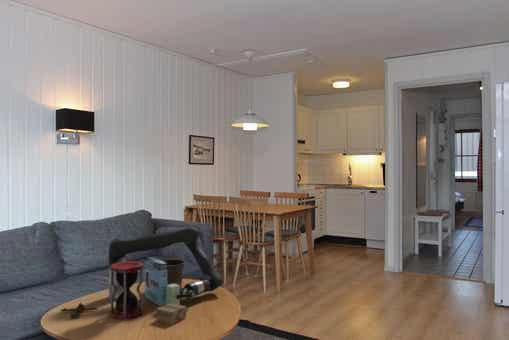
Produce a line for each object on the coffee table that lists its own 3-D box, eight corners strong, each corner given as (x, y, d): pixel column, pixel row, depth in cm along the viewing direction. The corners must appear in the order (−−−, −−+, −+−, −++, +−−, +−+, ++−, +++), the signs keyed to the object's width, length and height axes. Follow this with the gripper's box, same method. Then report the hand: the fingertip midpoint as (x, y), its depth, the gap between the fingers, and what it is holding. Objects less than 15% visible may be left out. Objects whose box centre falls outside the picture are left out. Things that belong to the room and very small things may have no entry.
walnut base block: (172, 325, 196) (172, 312, 196) (156, 320, 202) (156, 308, 201) (185, 318, 205) (186, 306, 205) (170, 314, 210) (170, 302, 210)
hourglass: (107, 320, 201) (107, 269, 201) (113, 309, 217) (113, 261, 216) (141, 318, 203) (141, 268, 203) (144, 307, 219) (145, 260, 219)
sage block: (172, 310, 216) (172, 287, 216) (166, 308, 219) (166, 285, 219) (179, 307, 220) (179, 285, 220) (173, 305, 223) (173, 283, 223)
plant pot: (171, 293, 244) (171, 266, 244) (152, 289, 253) (152, 262, 252) (190, 287, 257) (190, 261, 257) (171, 283, 266) (171, 258, 266)
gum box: (145, 297, 236) (143, 257, 235) (153, 295, 239) (152, 256, 239) (160, 306, 221) (158, 264, 220) (168, 304, 224) (167, 262, 223)
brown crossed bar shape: (54, 314, 201) (63, 301, 215) (54, 322, 202) (63, 309, 216) (93, 312, 204) (99, 300, 218) (93, 320, 204) (99, 308, 219)
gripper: (185, 280, 236) (163, 286, 223) (203, 284, 227) (180, 291, 214) (185, 293, 236) (162, 300, 223) (203, 298, 227) (180, 305, 214)
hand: (171, 295), depth 218 cm, fingers open, 8 cm apart
